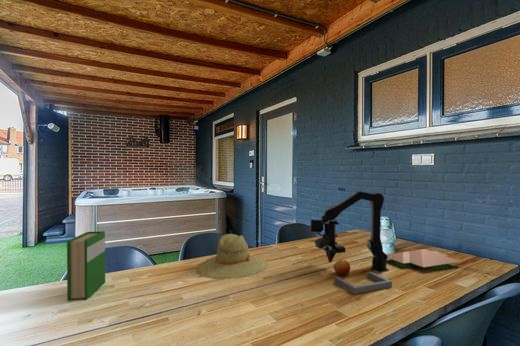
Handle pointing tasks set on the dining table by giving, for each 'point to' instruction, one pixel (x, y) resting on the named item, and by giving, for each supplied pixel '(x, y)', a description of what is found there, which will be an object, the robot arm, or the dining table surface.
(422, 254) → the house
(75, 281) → the hardback book
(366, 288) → the corral
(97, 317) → the dining table surface
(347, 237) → the dining table surface
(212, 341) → the dining table surface
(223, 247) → the straw hat
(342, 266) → the fruit
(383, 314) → the dining table surface
